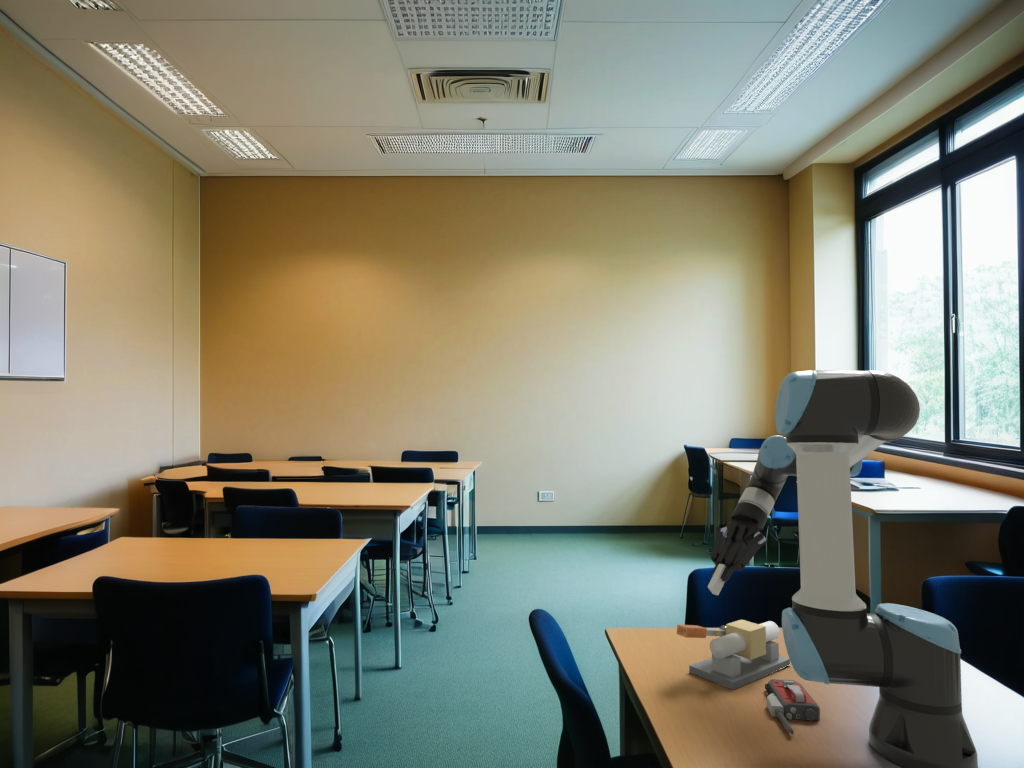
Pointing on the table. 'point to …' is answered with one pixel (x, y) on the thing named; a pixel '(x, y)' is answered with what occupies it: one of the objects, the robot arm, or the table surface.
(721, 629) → the valve lever
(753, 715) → the table surface
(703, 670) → the valve rig
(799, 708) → the walkie-talkie
